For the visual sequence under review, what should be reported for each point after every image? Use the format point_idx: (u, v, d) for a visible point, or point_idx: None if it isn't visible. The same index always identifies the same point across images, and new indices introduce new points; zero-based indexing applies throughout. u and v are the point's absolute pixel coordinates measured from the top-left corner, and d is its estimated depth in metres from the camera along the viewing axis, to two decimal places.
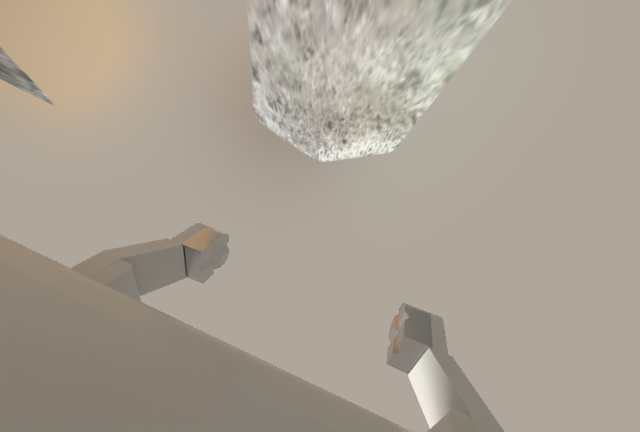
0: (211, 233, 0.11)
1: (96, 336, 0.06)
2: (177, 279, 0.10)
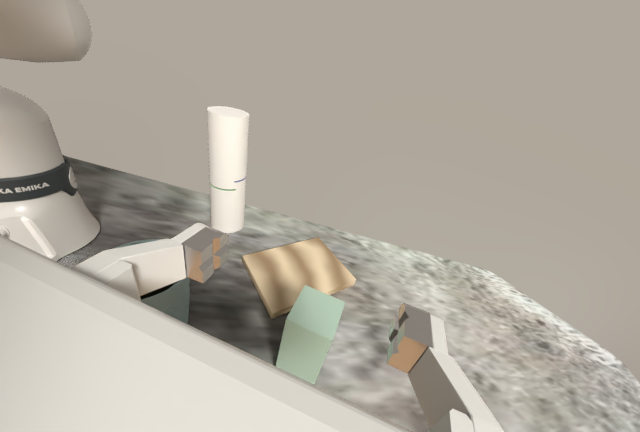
0: (211, 233, 0.11)
1: (96, 336, 0.06)
2: (177, 279, 0.10)
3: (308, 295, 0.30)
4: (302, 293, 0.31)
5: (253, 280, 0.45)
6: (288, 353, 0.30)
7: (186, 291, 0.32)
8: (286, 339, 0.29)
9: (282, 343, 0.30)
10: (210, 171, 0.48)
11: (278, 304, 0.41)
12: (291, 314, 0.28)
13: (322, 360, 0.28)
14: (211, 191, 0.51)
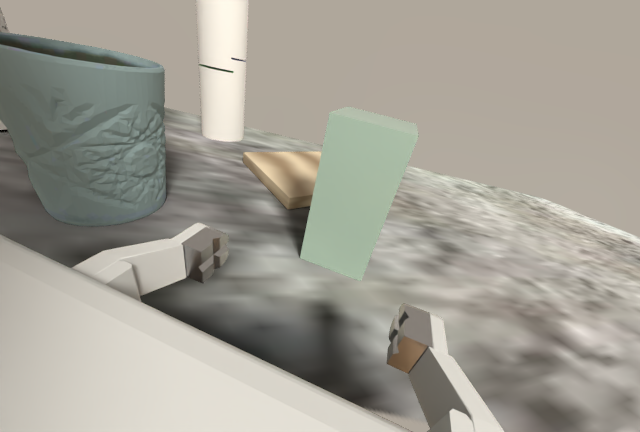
0: (211, 233, 0.11)
1: (96, 336, 0.06)
2: (177, 279, 0.10)
3: (357, 111, 0.19)
4: (347, 108, 0.19)
5: (259, 173, 0.33)
6: (327, 204, 0.18)
7: (157, 118, 0.19)
8: (327, 170, 0.17)
9: (318, 182, 0.18)
10: (199, 42, 0.37)
11: (297, 191, 0.29)
12: (337, 112, 0.16)
13: (390, 199, 0.17)
14: (201, 76, 0.39)
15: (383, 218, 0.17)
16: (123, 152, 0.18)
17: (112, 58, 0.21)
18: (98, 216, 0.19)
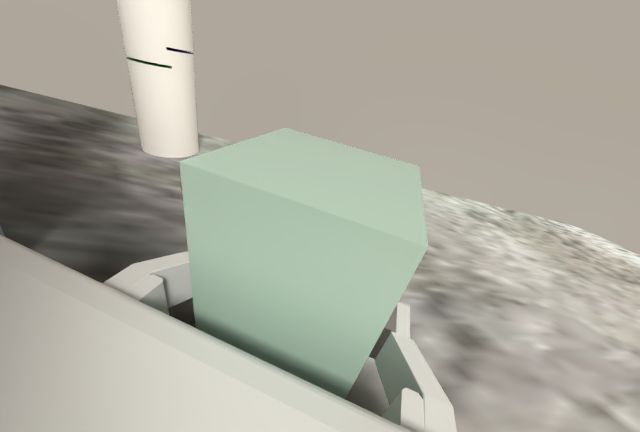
0: None
1: (96, 336, 0.06)
2: None
3: (295, 140, 0.09)
4: (274, 134, 0.09)
5: None
6: None
7: None
8: (210, 286, 0.07)
9: (199, 304, 0.08)
10: (121, 27, 0.27)
11: None
12: (214, 157, 0.06)
13: (355, 365, 0.07)
14: (129, 73, 0.29)
15: (343, 392, 0.08)
16: None
17: None
18: None
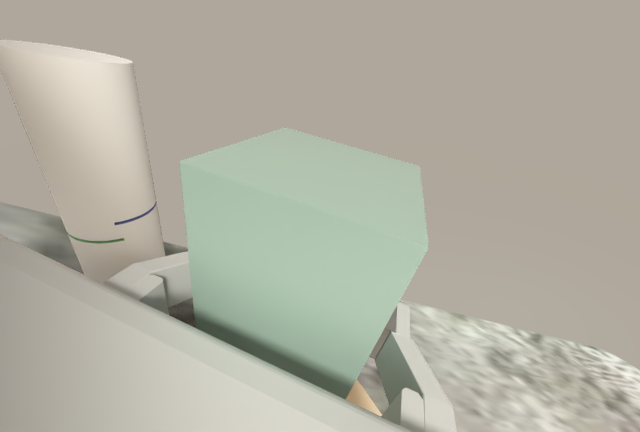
0: None
1: (96, 336, 0.06)
2: None
3: (295, 139, 0.09)
4: (274, 134, 0.09)
5: None
6: None
7: None
8: (209, 286, 0.07)
9: (199, 304, 0.08)
10: None
11: None
12: (214, 156, 0.06)
13: (356, 365, 0.07)
14: (72, 243, 0.23)
15: (343, 393, 0.07)
16: None
17: None
18: None
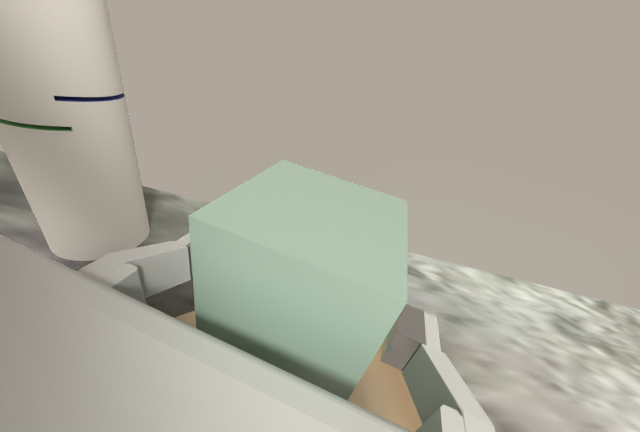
0: None
1: (96, 336, 0.06)
2: (182, 281, 0.10)
3: (292, 176, 0.09)
4: (273, 170, 0.10)
5: None
6: None
7: None
8: (212, 317, 0.08)
9: None
10: None
11: None
12: (219, 206, 0.07)
13: (345, 391, 0.07)
14: None
15: None
16: None
17: None
18: None
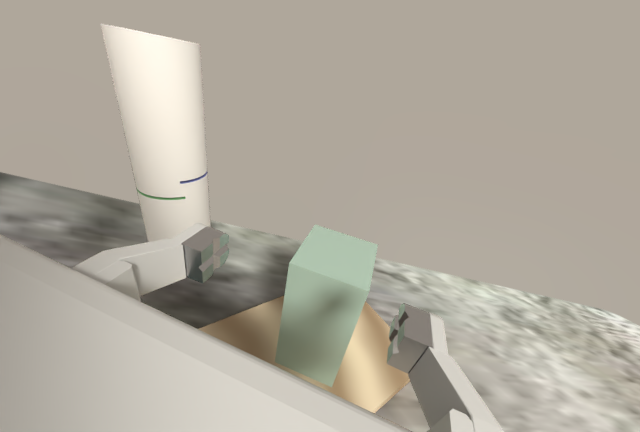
0: (211, 233, 0.11)
1: (96, 336, 0.06)
2: (177, 279, 0.10)
3: (321, 236, 0.20)
4: (312, 233, 0.20)
5: None
6: (295, 327, 0.19)
7: None
8: (292, 302, 0.18)
9: (285, 310, 0.19)
10: (131, 163, 0.25)
11: None
12: (297, 257, 0.17)
13: (350, 331, 0.18)
14: (140, 202, 0.27)
15: (346, 344, 0.18)
16: None
17: None
18: None
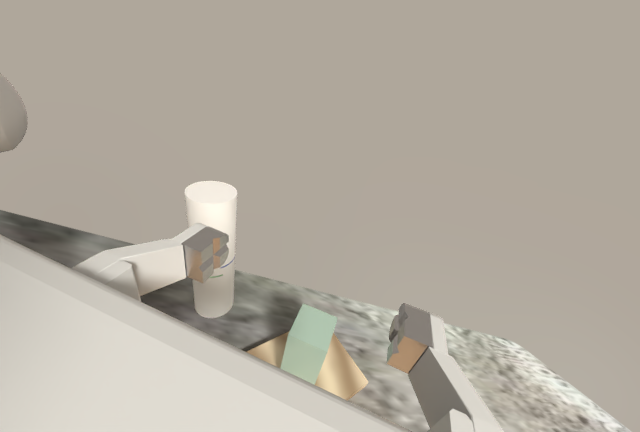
0: (211, 233, 0.11)
1: (96, 336, 0.06)
2: (177, 279, 0.10)
3: (306, 313, 0.36)
4: (301, 311, 0.36)
5: None
6: (290, 363, 0.35)
7: None
8: (288, 352, 0.34)
9: (285, 355, 0.35)
10: None
11: None
12: (292, 330, 0.33)
13: (319, 368, 0.34)
14: None
15: (317, 374, 0.34)
16: None
17: None
18: None
